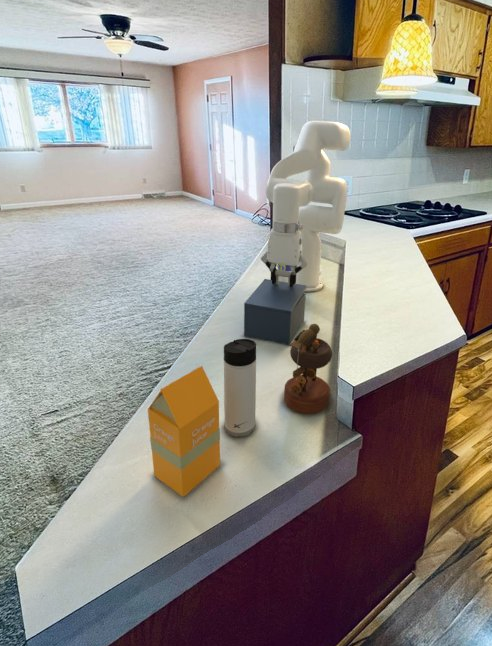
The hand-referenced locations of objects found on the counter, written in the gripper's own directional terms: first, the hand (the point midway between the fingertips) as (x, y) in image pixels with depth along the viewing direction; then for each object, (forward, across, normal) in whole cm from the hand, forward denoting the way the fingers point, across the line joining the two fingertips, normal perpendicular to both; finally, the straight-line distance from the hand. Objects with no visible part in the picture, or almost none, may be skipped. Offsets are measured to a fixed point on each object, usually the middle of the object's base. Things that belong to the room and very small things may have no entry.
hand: (283, 283), depth 127 cm
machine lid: (+2, 0, +6) cm, 6 cm away
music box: (+12, -18, +36) cm, 42 cm away
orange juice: (+12, -3, +64) cm, 65 cm away
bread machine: (+13, 0, +6) cm, 14 cm away
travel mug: (+12, -8, +50) cm, 52 cm away
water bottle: (+13, +5, -21) cm, 25 cm away
